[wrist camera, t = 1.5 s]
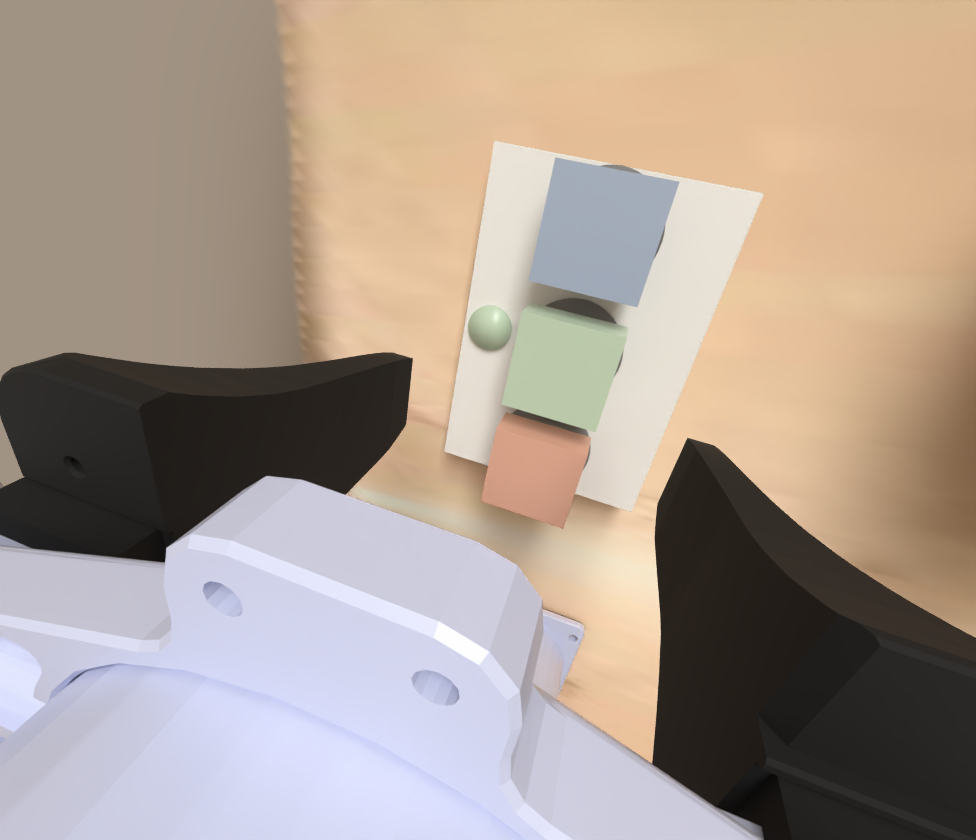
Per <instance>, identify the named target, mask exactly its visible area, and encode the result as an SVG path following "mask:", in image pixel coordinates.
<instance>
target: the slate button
mask: <svg viewBox="0 0 976 840" xmlns="http://www.w3.org/2000/svg"><path fill="white" fill-rule="evenodd" d="M678 185H679V182H678V181H673V180H668V179H663V178H658V177H653V176H648V175H643V174H638V173H633V172H628V171H622V170H617V169H612V168H607V167H602V166H597V165H592V164H587V163H582V162H577V161H572V160H567V159H561V158H556V157H555V161H554V166H553V170H552V175H551V180H550V184H549V189H548V193H547V198H546V202H545V207H544V212H543V216H542V221H541V225H540V230H539V235H538V239H537V244H536V248H535V253H534V258H533V262H532V267H531V271H530V276H529V281H532V282H536V283H540V284H544V285H548V286H552V287H556V288H560V289H564V290H568V291H572V292H577V293H581V294H585V295H589V296H593V297H597V298H601V299H605V300H609V301H613V302H617V303H621V304H625V305H629V306H633V307H638V304H639V301H640V298H641V295H642V292H643V289H644V286H645V283H646V281H647V278H648V275H649V272H650V269H651V266H652V263H653V260H654V257H655V254H656V251H657V248H658V245H659V242H660V239H661V236H662V233H663V230H664V227H665V224H666V221H667V218H668V215H669V212H670V209H671V206H672V203H673V200H674V197H675V194H676V191H677V188H678Z"/></svg>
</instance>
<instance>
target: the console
mask: <svg viewBox="0 0 976 840" xmlns="http://www.w3.org/2000/svg"><path fill="white" fill-rule="evenodd" d="M555 157H556V158H561V159H567V160H572V161H577V162H582V163H587V164H592V165H597V166H602V167H607V168H612V169H617V170H622V171H628V172H633V173H638V174H643V175H648V176H653V177H658V178H663V179H668V180H673V181H678V182H679V185H678V188H677V191H676V194H675V197H674V200H673V203H672V206H671V209H670V212H669V215H668V218H667V221H666V224H665V227H664V230H663V233H662V236H661V239H660V242H659V245H658V248H657V251H656V254H655V257H654V260H653V263H652V266H651V269H650V272H649V275H648V278H647V281H646V283H645V286H644V289H643V292H642V295H641V298H640V301H639V304H638V307H633V306H629V305H625V304H621V303H617V302H613V301H609V300H605V299H601V298H597V297H593V296H589V295H585V294H581V293H577V292H572V291H568V290H564V289H560V288H556V287H552V286H548V285H544V284H540V283H536V282H532V281H529V276H530V271H531V267H532V262H533V258H534V253H535V248H536V244H537V239H538V235H539V230H540V225H541V221H542V216H543V212H544V207H545V202H546V198H547V193H548V189H549V184H550V180H551V175H552V170H553V166H554V161H555ZM763 194H764V193H759V192H754V191H749V190H744V189H739V188H733V187H728V186H723V185H718V184H713V183H708V182H703V181H698V180H692V179H687V178H682V177H677V176H672V175H667V174H662V173H656V172H651V171H646V170H641V169H636V168H631V167H626V166H622V165H615V164H610V163H605V162H600V161H595V160H590V159H585V158H580V157H574V156H569V155H564V154H559V153H554V152H549V151H544V150H539V149H533V148H528V147H523V146H518V145H513V144H508V143H503V142H498V141H494V146H493V153H492V159H491V165H490V171H489V177H488V184H487V190H486V196H485V202H484V208H483V215H482V221H481V227H480V233H479V239H478V246H477V252H476V258H475V264H474V270H473V277H472V283H471V289H470V295H469V301H468V308H467V314H466V320H465V326H464V332H463V339H462V345H461V351H460V357H459V363H458V370H457V376H456V382H455V388H454V394H453V401H452V407H451V413H450V419H449V426H448V432H447V438H446V444H445V450H444V452H447V453H450V454H453V455H456V456H459V457H462V458H465V459H468V460H472V461H475V462H478V463H481V464H484V465H487V466H488V464H489V460H490V455H491V450H492V446H493V441H494V437H495V432H496V428H497V426H498V425H499V423H500V421H501V420H502V418H503V417H504V415H505V413H506V412H508V413H511V414H514V415H518V416H521V417H525V418H528V419H531V420H535V421H538V422H541V423H545V424H548V425H551V426H555V427H558V428H561V429H565V430H568V431H571V432H575V433H578V434H581V435H585V436H588V437H591V442H590V447H589V452H588V456H587V459H586V462H585V465H584V468H583V471H582V474H581V477H580V480H579V483H578V486H577V489H576V492H575V494H577V495H580V496H583V497H586V498H589V499H592V500H596V501H599V502H602V503H605V504H608V505H611V506H614V507H617V508H620V509H623V510H627V511H630V512H631V511H632V509H633V506H634V504H635V502H636V499H637V497H638V494H639V492H640V490H641V487H642V485H643V482H644V480H645V478H646V475H647V473H648V470H649V468H650V466H651V463H652V461H653V458H654V456H655V454H656V451H657V449H658V446H659V444H660V442H661V439H662V437H663V434H664V432H665V430H666V427H667V425H668V422H669V420H670V418H671V415H672V413H673V410H674V408H675V406H676V403H677V401H678V398H679V396H680V394H681V391H682V389H683V386H684V384H685V382H686V379H687V377H688V374H689V372H690V370H691V367H692V365H693V362H694V360H695V358H696V355H697V353H698V350H699V348H700V346H701V343H702V341H703V338H704V336H705V334H706V331H707V329H708V326H709V324H710V322H711V319H712V317H713V314H714V312H715V310H716V307H717V305H718V302H719V300H720V298H721V295H722V293H723V290H724V288H725V286H726V283H727V281H728V278H729V276H730V274H731V271H732V269H733V266H734V264H735V262H736V259H737V257H738V254H739V252H740V250H741V247H742V245H743V242H744V240H745V238H746V235H747V233H748V230H749V228H750V226H751V223H752V221H753V218H754V216H755V214H756V211H757V209H758V206H759V204H760V202H761V199H762V197H763ZM531 302H532V303H535V304H539V305H543V306H547V307H551V308H555V309H559V310H563V311H567V312H571V313H575V314H579V315H583V316H587V317H591V318H594V319H598V320H602V321H606V322H610V323H614V324H618V325H622V326H626V327H628V334H627V340H626V343H625V346H624V349H623V352H622V355H621V358H620V361H619V364H618V367H617V370H616V373H615V376H614V379H613V382H612V385H611V388H610V391H609V394H608V397H607V400H606V403H605V406H604V409H603V412H602V415H601V418H600V421H599V424H598V426H597V429H596V432H593V431H589V430H586V429H583V428H579V427H576V426H573V425H569V424H566V423H562V422H559V421H556V420H552V419H549V418H546V417H542V416H539V415H535V414H532V413H529V412H525V411H522V410H519V409H515V408H512V407H509V406H505V405H502V400H503V395H504V391H505V386H506V382H507V377H508V372H509V368H510V363H511V359H512V354H513V349H514V345H515V340H516V336H517V331H518V326H519V322H520V317H521V313H522V310H524V309H525V308H526V307H527V306H528V305H529V304H530V303H531Z"/></svg>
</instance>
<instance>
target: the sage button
mask: <svg viewBox="0 0 976 840" xmlns="http://www.w3.org/2000/svg"><path fill="white" fill-rule="evenodd" d="M627 334H628V327H626V326H622V325H618V324H614V323H610V322H606V321H602V320H598V319H594V318H591V317H587V316H583V315H579V314H575V313H571V312H567V311H563V310H559V309H555V308H551V307H547V306H543V305H539V304H535V303H532V302H531V303H530V304H529V305H528V306H527V307H526V308H525V309H524V310H522V313H521V317H520V322H519V326H518V331H517V336H516V340H515V345H514V349H513V354H512V359H511V363H510V368H509V372H508V377H507V382H506V386H505V391H504V395H503V400H502V405H505V406H509V407H512V408H515V409H519V410H522V411H525V412H529V413H532V414H535V415H539V416H542V417H546V418H549V419H552V420H556V421H559V422H562V423H566V424H569V425H573V426H576V427H579V428H583V429H586V430H589V431H593V432H596V429H597V426H598V424H599V421H600V418H601V415H602V412H603V409H604V406H605V403H606V400H607V397H608V394H609V391H610V388H611V385H612V382H613V379H614V376H615V373H616V370H617V367H618V364H619V361H620V358H621V355H622V352H623V349H624V346H625V343H626V340H627Z"/></svg>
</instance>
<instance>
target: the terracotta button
mask: <svg viewBox="0 0 976 840" xmlns="http://www.w3.org/2000/svg"><path fill="white" fill-rule="evenodd" d="M590 442H591V437H588V436H585V435H581V434H578V433H575V432H571V431H568V430H565V429H561V428H558V427H555V426H551V425H548V424H545V423H541V422H538V421H535V420H531V419H528V418H525V417H521V416H518V415H514V414H511V413H508V412H506V413H505V415H504V417H503V418H502V420H501V421H500V423H499V425H498V426H497V428H496V432H495V437H494V441H493V446H492V450H491V455H490V460H489V464H488V469H487V473H486V478H485V483H484V487H483V492H482V496H481V501H482V502H485V503H488V504H491V505H494V506H497V507H500V508H503V509H506V510H509V511H512V512H515V513H518V514H521V515H524V516H527V517H530V518H533V519H536V520H539V521H541V522H544V523H547V524H550V525H553V526H556V527H559V528H562V529H563V528H564V525H565V522H566V519H567V516H568V513H569V510H570V507H571V504H572V501H573V498H574V495H575V492H576V489H577V486H578V483H579V480H580V477H581V474H582V471H583V468H584V465H585V462H586V459H587V456H588V452H589V447H590Z"/></svg>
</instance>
